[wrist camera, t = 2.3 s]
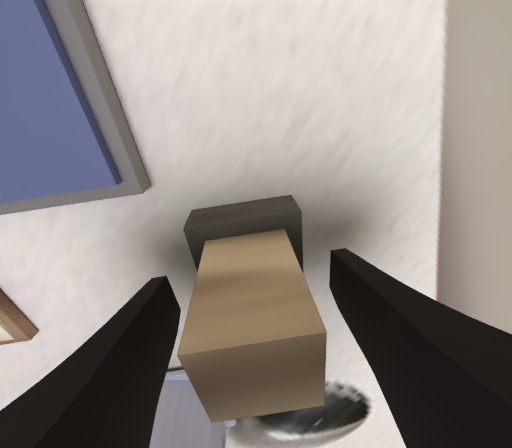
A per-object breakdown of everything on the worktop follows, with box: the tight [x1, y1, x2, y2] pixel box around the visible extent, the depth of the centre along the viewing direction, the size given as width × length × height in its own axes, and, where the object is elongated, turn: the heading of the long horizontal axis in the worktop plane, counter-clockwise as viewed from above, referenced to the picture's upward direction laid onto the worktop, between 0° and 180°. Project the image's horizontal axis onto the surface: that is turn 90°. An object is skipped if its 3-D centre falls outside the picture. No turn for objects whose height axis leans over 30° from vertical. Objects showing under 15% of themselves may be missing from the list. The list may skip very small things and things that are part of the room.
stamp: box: [177, 195, 327, 423], centre depth 9 cm, size 5×5×7 cm
